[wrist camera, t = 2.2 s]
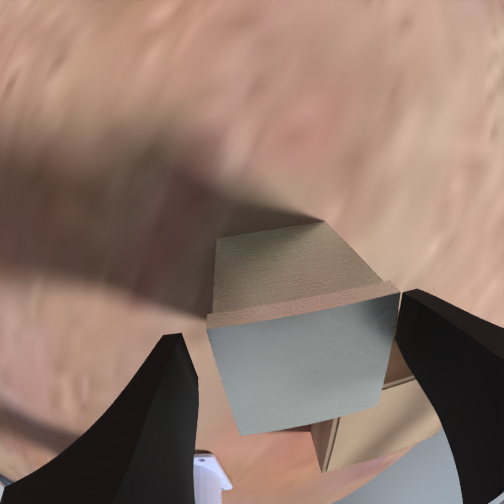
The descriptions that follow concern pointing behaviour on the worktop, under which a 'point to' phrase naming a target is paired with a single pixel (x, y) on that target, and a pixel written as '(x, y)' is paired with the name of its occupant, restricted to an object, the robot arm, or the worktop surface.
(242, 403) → the tea tin
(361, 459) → the tan flat square box
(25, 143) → the worktop surface
